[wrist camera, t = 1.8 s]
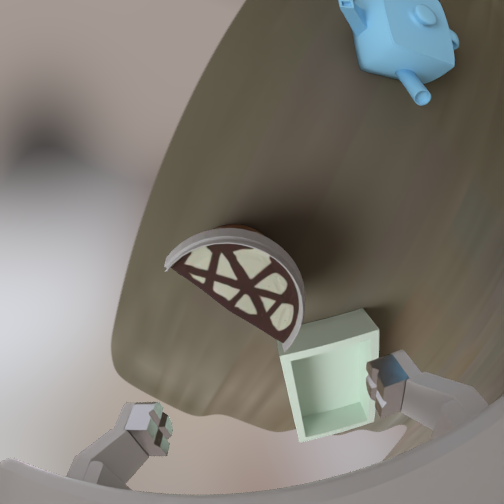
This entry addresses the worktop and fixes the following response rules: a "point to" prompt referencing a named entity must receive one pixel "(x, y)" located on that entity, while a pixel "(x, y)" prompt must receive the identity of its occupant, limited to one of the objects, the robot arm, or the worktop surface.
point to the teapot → (402, 41)
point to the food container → (245, 277)
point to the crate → (330, 374)
